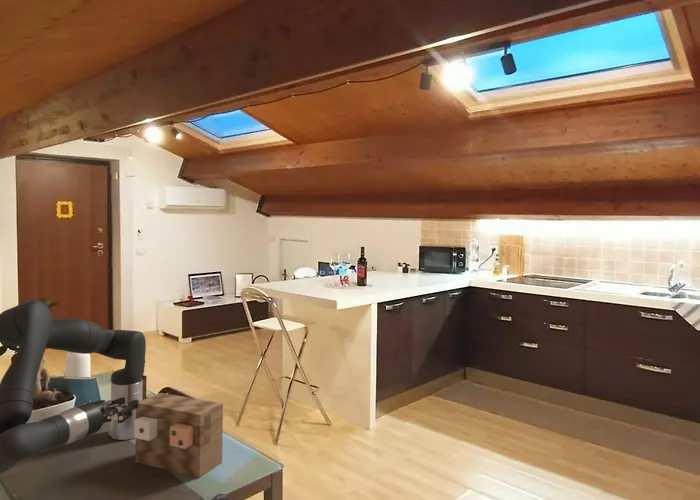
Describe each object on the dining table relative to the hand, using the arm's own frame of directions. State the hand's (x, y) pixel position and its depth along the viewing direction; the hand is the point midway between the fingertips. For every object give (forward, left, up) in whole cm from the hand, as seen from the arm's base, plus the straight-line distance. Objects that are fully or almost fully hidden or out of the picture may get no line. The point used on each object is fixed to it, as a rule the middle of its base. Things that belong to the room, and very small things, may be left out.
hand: (130, 402), depth 141 cm
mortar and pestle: (-37, +43, -20) cm, 60 cm away
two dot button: (+12, +7, -12) cm, 18 cm away
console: (+6, +12, -20) cm, 24 cm away
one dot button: (0, +7, -11) cm, 13 cm away
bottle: (-52, +29, -20) cm, 63 cm away
